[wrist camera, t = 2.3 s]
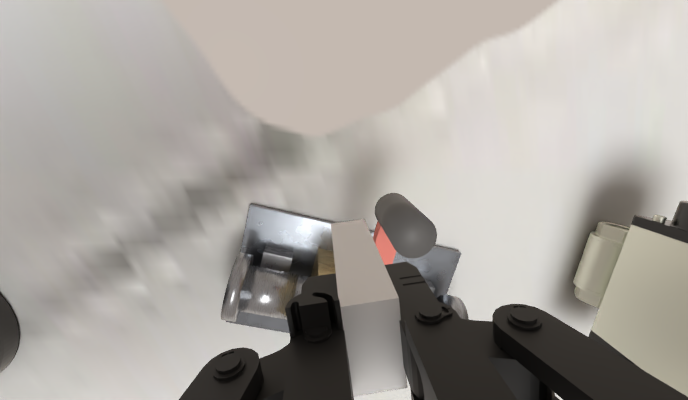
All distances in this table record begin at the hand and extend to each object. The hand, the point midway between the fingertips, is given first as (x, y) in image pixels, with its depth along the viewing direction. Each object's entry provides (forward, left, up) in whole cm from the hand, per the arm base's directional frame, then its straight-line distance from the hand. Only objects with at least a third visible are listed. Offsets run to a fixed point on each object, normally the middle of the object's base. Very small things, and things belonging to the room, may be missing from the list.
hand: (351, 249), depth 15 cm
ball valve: (+34, -2, -21) cm, 40 cm away
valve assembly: (+5, -12, -21) cm, 25 cm away
